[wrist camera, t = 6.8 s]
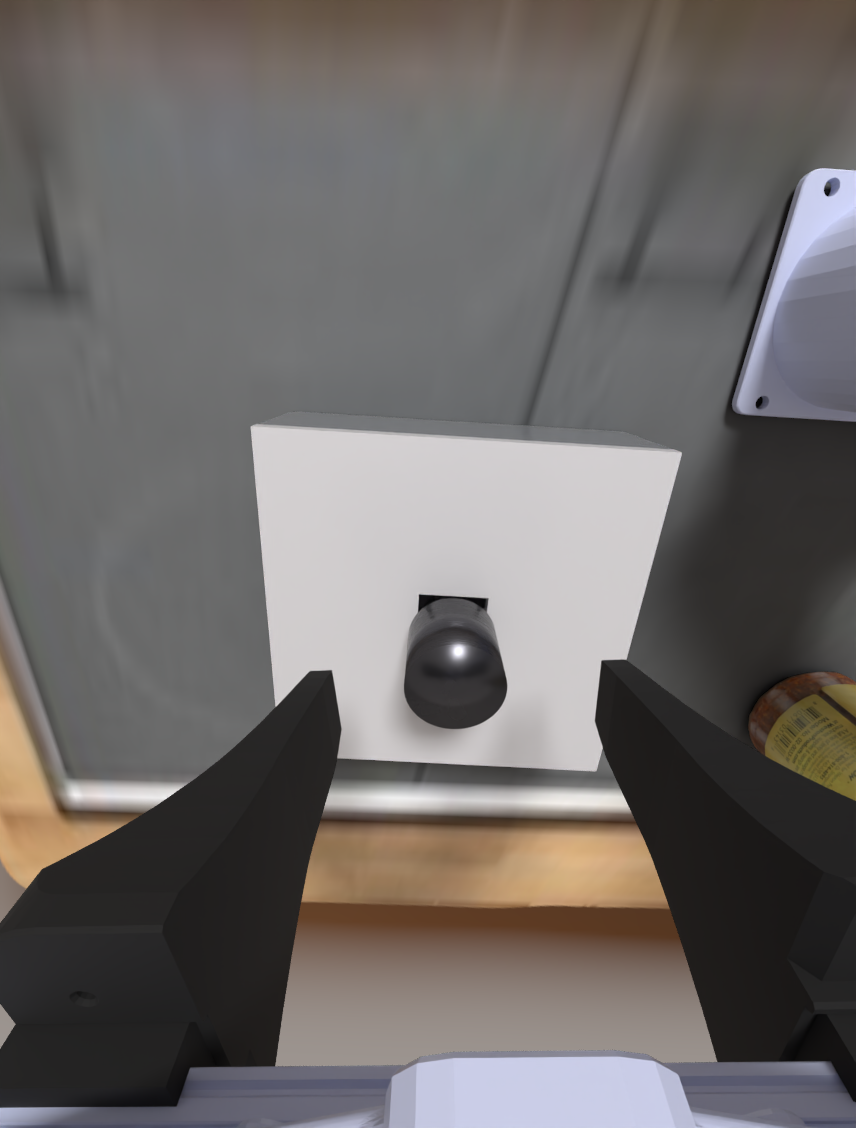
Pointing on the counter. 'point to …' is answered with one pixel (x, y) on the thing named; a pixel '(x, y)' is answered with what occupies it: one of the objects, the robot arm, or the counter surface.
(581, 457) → the slotted white block
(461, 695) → the plunger
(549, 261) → the counter surface
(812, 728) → the sauce bottle
